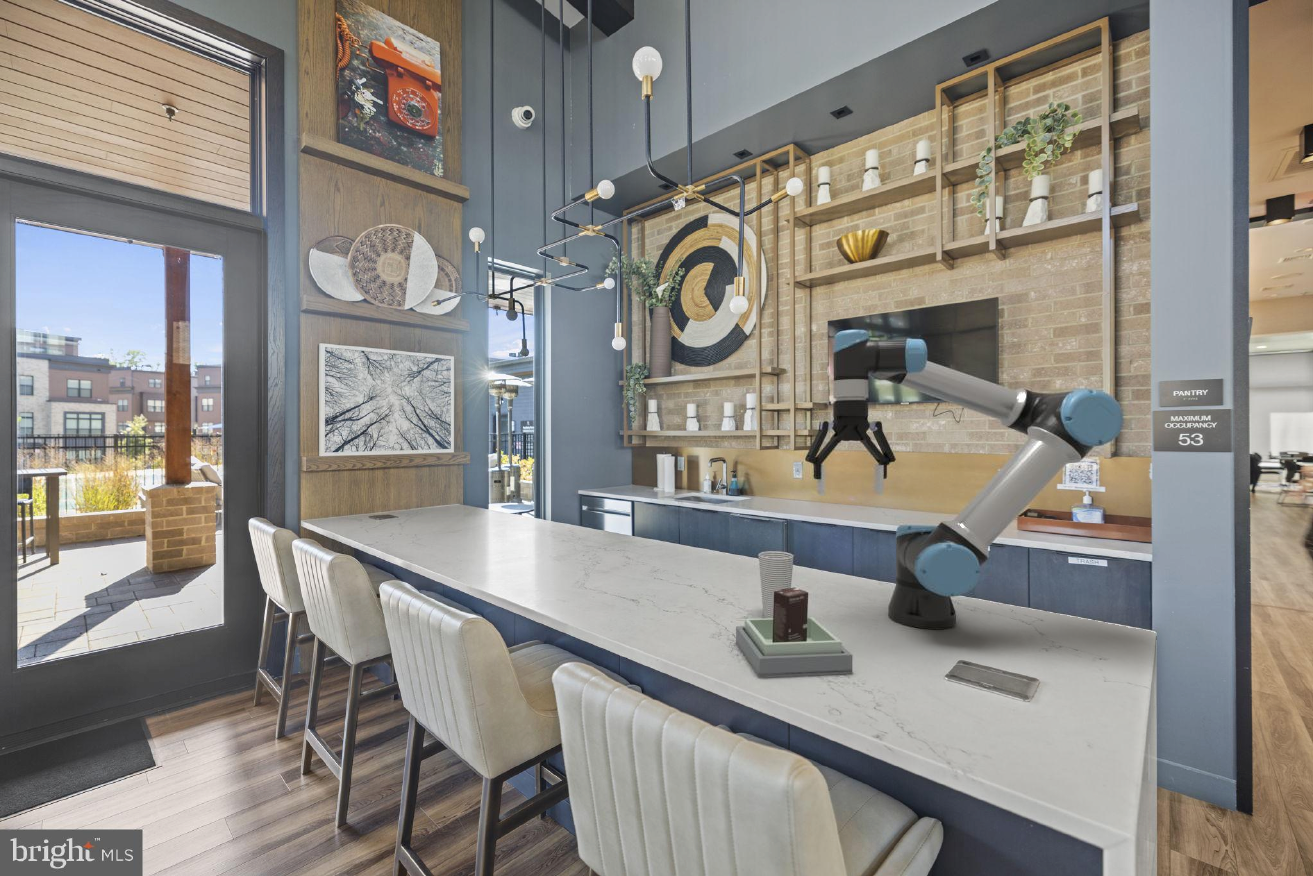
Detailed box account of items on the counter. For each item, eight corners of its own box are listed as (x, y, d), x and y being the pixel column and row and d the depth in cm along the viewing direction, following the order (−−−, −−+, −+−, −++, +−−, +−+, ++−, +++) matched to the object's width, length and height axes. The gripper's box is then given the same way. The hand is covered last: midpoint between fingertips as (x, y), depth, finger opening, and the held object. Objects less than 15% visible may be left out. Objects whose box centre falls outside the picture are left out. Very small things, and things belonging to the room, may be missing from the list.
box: (788, 656, 114) (788, 595, 114) (771, 649, 117) (771, 590, 117) (809, 650, 117) (809, 591, 117) (792, 643, 121) (792, 586, 121)
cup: (798, 615, 144) (798, 553, 144) (786, 625, 137) (786, 559, 136) (766, 610, 148) (766, 549, 148) (752, 619, 141) (753, 555, 141)
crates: (816, 639, 127) (816, 614, 127) (852, 673, 109) (852, 644, 109) (735, 642, 125) (736, 617, 125) (759, 678, 107) (759, 647, 107)
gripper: (894, 401, 135) (894, 491, 136) (791, 400, 133) (791, 492, 133) (912, 399, 128) (911, 495, 128) (803, 398, 125) (802, 496, 126)
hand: (850, 494), depth 131 cm, fingers open, 13 cm apart
